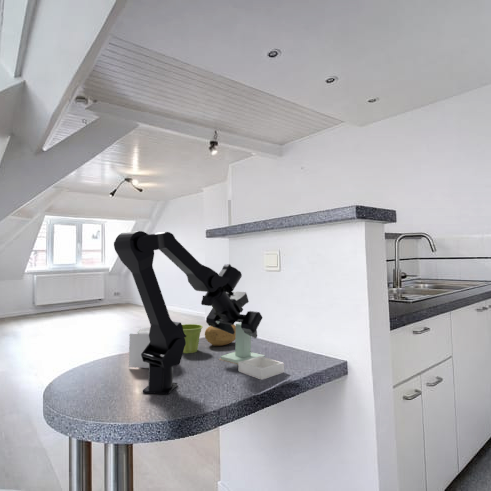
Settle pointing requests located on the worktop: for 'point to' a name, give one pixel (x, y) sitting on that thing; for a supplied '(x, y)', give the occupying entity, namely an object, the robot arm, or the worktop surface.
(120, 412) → the worktop surface
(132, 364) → the toilet tissue
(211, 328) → the potato
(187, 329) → the plant pot
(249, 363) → the dish
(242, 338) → the mint green stamp
